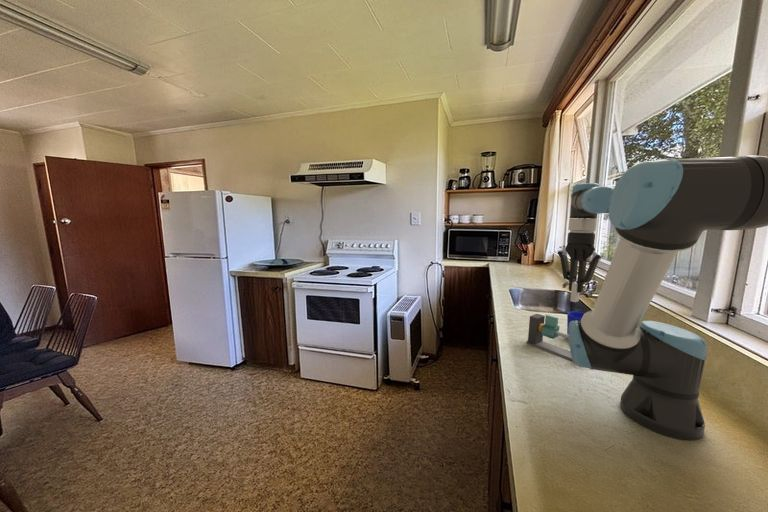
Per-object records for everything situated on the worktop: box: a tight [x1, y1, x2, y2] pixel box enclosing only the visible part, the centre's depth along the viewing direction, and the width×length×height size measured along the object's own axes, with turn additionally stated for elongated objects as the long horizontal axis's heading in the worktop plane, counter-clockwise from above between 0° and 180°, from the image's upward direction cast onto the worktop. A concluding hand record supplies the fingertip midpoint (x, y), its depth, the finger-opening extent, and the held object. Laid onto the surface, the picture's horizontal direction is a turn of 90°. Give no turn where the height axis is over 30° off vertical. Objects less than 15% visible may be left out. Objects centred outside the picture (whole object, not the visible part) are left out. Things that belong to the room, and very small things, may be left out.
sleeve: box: [542, 314, 560, 340], centre depth 108 cm, size 4×4×8 cm
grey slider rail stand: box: [525, 313, 573, 362], centre depth 106 cm, size 19×5×11 cm, turn 34°
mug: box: [566, 310, 586, 334], centre depth 117 cm, size 8×12×10 cm
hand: (574, 301), depth 100 cm, fingers closed
